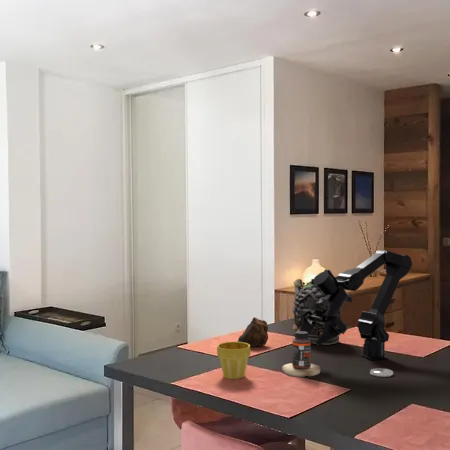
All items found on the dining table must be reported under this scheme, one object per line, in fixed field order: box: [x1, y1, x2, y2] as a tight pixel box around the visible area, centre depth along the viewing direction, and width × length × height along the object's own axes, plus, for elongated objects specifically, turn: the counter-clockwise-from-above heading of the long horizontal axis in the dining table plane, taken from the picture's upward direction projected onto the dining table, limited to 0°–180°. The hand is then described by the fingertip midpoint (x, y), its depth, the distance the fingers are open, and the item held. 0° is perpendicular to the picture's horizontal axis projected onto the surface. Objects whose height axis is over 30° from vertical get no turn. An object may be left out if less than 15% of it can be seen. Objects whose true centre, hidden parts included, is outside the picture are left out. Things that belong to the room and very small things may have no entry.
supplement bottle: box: [291, 331, 312, 369], centre depth 185 cm, size 6×6×11 cm
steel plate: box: [369, 367, 394, 378], centre depth 182 cm, size 7×7×1 cm
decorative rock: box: [237, 317, 269, 348], centre depth 220 cm, size 12×6×11 cm, turn 104°
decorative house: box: [291, 278, 343, 345], centre depth 228 cm, size 21×15×25 cm
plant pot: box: [216, 341, 251, 380], centre depth 180 cm, size 10×10×10 cm
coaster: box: [281, 363, 321, 378], centre depth 185 cm, size 12×12×1 cm
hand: (308, 341), depth 186 cm, fingers open, 9 cm apart
